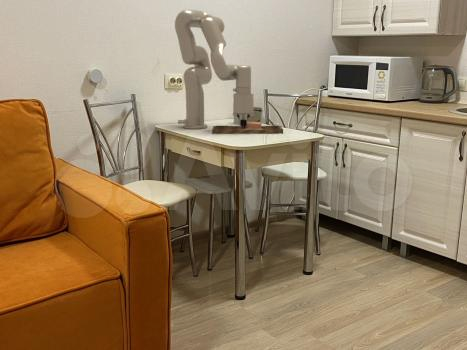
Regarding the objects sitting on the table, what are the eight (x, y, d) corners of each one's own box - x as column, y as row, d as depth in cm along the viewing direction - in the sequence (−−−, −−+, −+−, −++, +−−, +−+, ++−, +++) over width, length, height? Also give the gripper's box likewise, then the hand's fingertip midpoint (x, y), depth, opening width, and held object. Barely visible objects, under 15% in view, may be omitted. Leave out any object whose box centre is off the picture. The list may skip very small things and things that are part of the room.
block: (247, 132, 259) (247, 123, 258) (246, 130, 266) (246, 122, 265) (261, 132, 259) (261, 123, 258) (260, 130, 266) (260, 121, 265)
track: (212, 133, 255) (212, 129, 255) (213, 129, 267) (213, 125, 267) (283, 133, 255) (283, 129, 254) (280, 129, 267) (281, 125, 267)
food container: (262, 125, 283) (263, 107, 281) (262, 126, 277) (262, 108, 275) (240, 124, 284) (240, 106, 282) (239, 126, 278) (239, 108, 276)
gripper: (228, 91, 253) (228, 128, 257) (258, 91, 253) (258, 128, 257) (228, 90, 260) (228, 126, 264) (258, 90, 260) (257, 126, 264)
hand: (243, 127), depth 261 cm, fingers closed
